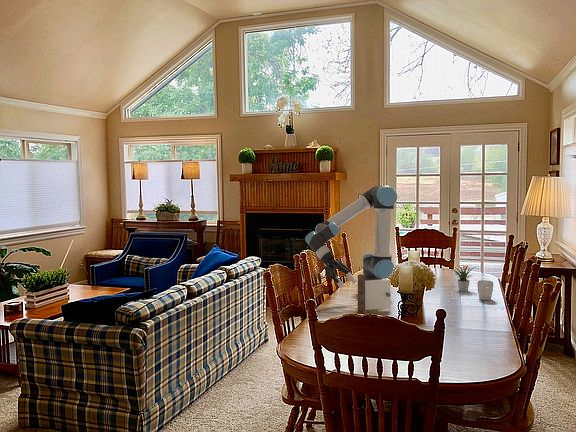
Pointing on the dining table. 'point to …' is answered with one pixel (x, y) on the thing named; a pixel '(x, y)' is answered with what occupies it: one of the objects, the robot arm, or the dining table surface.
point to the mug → (485, 289)
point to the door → (377, 294)
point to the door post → (361, 293)
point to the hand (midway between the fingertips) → (349, 284)
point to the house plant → (463, 278)
